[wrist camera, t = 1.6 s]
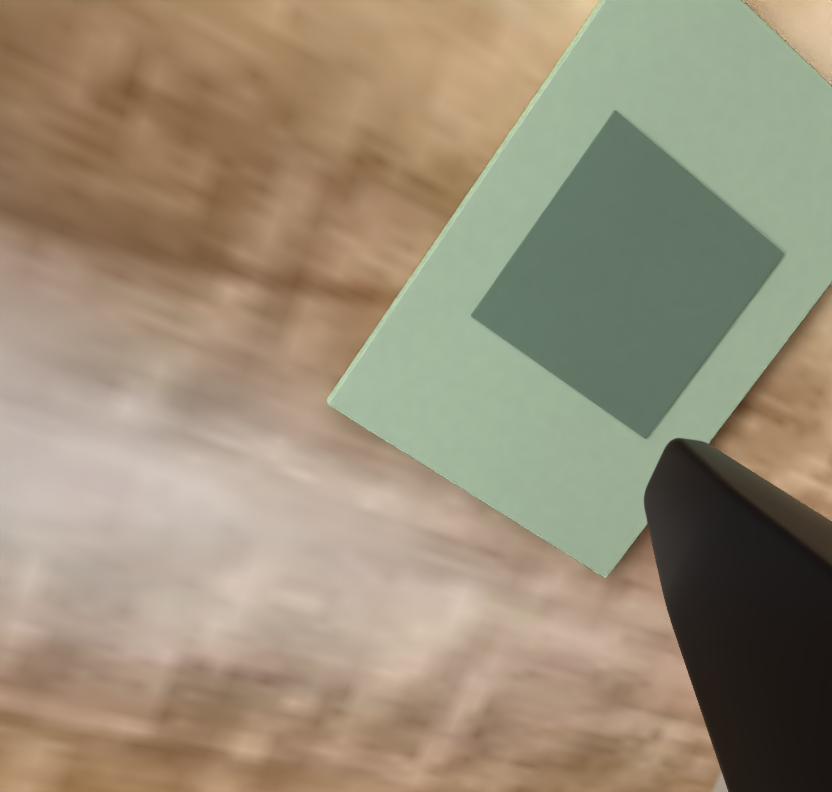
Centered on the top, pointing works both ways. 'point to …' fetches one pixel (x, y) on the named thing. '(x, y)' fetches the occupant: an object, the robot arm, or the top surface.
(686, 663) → the robot arm
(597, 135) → the mat
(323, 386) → the top surface
